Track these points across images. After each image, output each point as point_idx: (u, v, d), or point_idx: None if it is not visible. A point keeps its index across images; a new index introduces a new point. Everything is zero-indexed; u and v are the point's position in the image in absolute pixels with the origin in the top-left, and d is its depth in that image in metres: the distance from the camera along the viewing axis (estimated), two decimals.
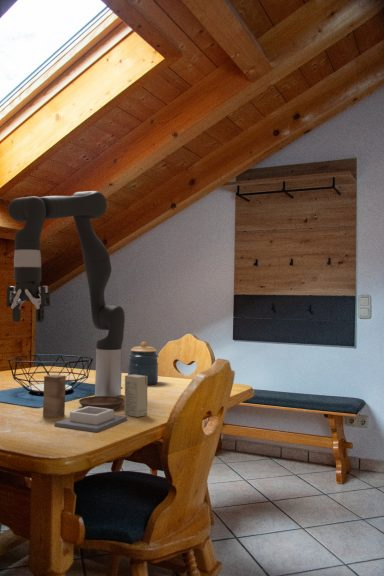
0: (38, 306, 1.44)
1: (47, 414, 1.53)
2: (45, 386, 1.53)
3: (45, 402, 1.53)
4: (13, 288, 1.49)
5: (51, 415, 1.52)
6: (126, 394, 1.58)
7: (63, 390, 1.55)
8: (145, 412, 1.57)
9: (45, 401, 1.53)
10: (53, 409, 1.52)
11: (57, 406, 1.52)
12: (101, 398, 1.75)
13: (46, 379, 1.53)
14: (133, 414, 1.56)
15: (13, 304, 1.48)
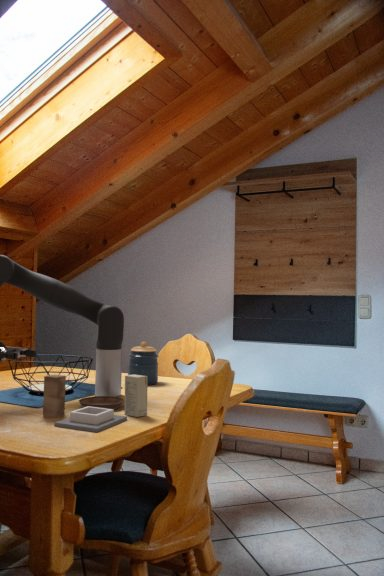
0: (3, 359, 1.56)
1: (47, 414, 1.53)
2: (45, 386, 1.53)
3: (45, 402, 1.53)
4: None
5: (51, 415, 1.52)
6: (126, 394, 1.58)
7: (63, 390, 1.55)
8: (145, 412, 1.57)
9: (45, 401, 1.53)
10: (53, 409, 1.52)
11: (57, 406, 1.52)
12: (101, 398, 1.75)
13: (46, 379, 1.53)
14: (133, 414, 1.56)
15: None
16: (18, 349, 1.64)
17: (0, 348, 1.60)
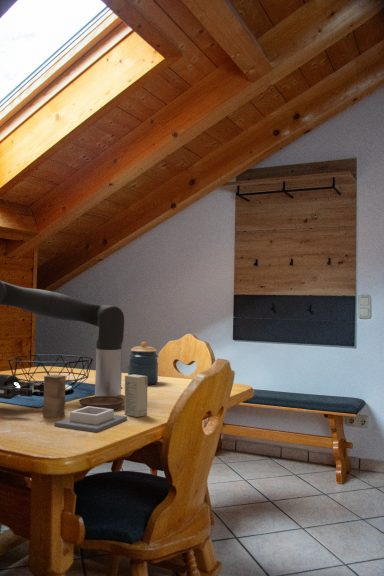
0: None
1: (47, 414, 1.53)
2: (45, 386, 1.53)
3: (45, 402, 1.53)
4: None
5: (51, 415, 1.52)
6: (126, 394, 1.58)
7: (63, 390, 1.55)
8: (145, 412, 1.57)
9: (45, 401, 1.53)
10: (53, 409, 1.52)
11: (57, 406, 1.52)
12: (101, 398, 1.75)
13: (46, 379, 1.53)
14: (133, 414, 1.56)
15: (37, 390, 1.63)
16: (32, 384, 1.62)
17: (14, 384, 1.57)
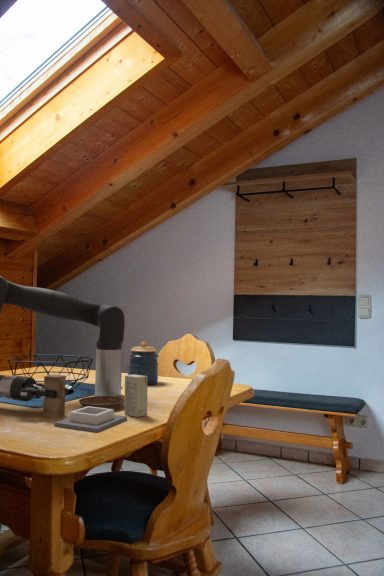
0: (42, 397, 1.52)
1: (47, 414, 1.53)
2: (45, 386, 1.53)
3: (46, 402, 1.53)
4: None
5: (51, 415, 1.52)
6: (126, 394, 1.58)
7: (63, 390, 1.55)
8: (145, 412, 1.57)
9: (45, 401, 1.53)
10: (53, 408, 1.52)
11: (57, 405, 1.52)
12: (101, 398, 1.75)
13: (46, 379, 1.53)
14: (133, 414, 1.56)
15: None
16: None
17: (34, 386, 1.55)
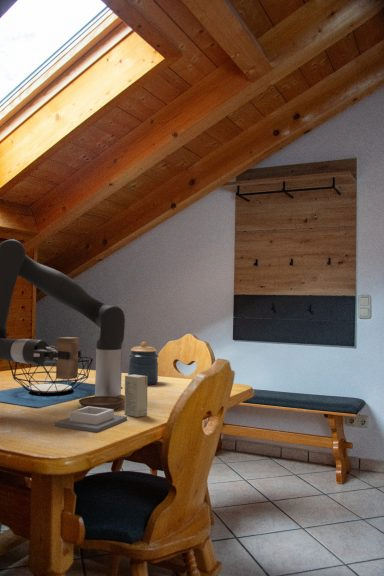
0: None
1: (60, 376, 1.50)
2: (58, 348, 1.51)
3: (58, 364, 1.51)
4: None
5: (64, 377, 1.50)
6: (126, 394, 1.58)
7: (76, 352, 1.53)
8: (145, 412, 1.57)
9: (58, 363, 1.51)
10: (66, 370, 1.50)
11: (70, 367, 1.50)
12: (101, 398, 1.75)
13: (59, 340, 1.51)
14: (133, 414, 1.56)
15: None
16: None
17: (47, 348, 1.52)
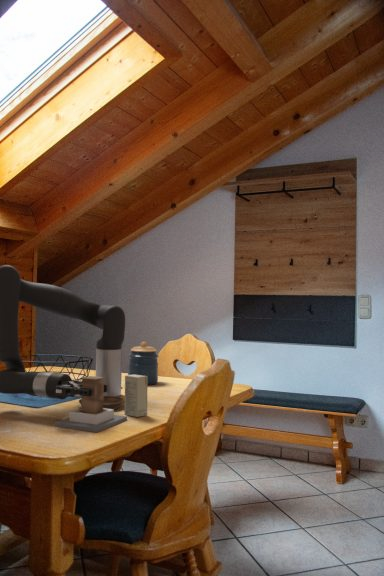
0: (77, 395, 1.44)
1: None
2: None
3: (84, 405, 1.45)
4: None
5: None
6: (126, 394, 1.58)
7: (101, 392, 1.47)
8: (145, 412, 1.57)
9: (83, 404, 1.46)
10: (92, 412, 1.44)
11: (96, 409, 1.45)
12: None
13: (84, 381, 1.46)
14: (133, 414, 1.56)
15: None
16: None
17: (70, 383, 1.47)
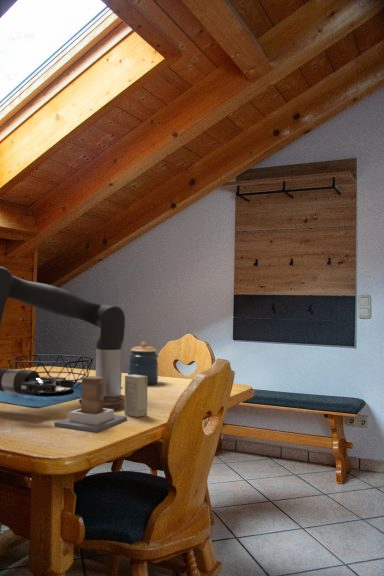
0: (40, 391, 1.48)
1: None
2: (83, 388, 1.46)
3: (84, 405, 1.45)
4: None
5: None
6: (126, 394, 1.58)
7: (101, 392, 1.47)
8: (145, 412, 1.57)
9: (83, 404, 1.46)
10: (92, 412, 1.44)
11: (96, 409, 1.45)
12: None
13: (84, 381, 1.46)
14: (133, 414, 1.56)
15: (59, 386, 1.57)
16: (54, 379, 1.56)
17: (36, 379, 1.51)
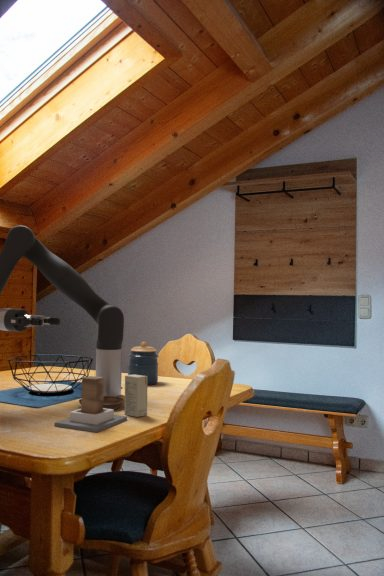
0: (28, 325, 1.59)
1: None
2: (83, 388, 1.46)
3: (84, 405, 1.45)
4: None
5: None
6: (126, 394, 1.58)
7: (101, 392, 1.47)
8: (145, 412, 1.57)
9: (83, 404, 1.46)
10: (92, 412, 1.44)
11: (96, 409, 1.45)
12: None
13: (84, 381, 1.46)
14: (133, 414, 1.56)
15: None
16: (42, 317, 1.67)
17: (25, 315, 1.63)
